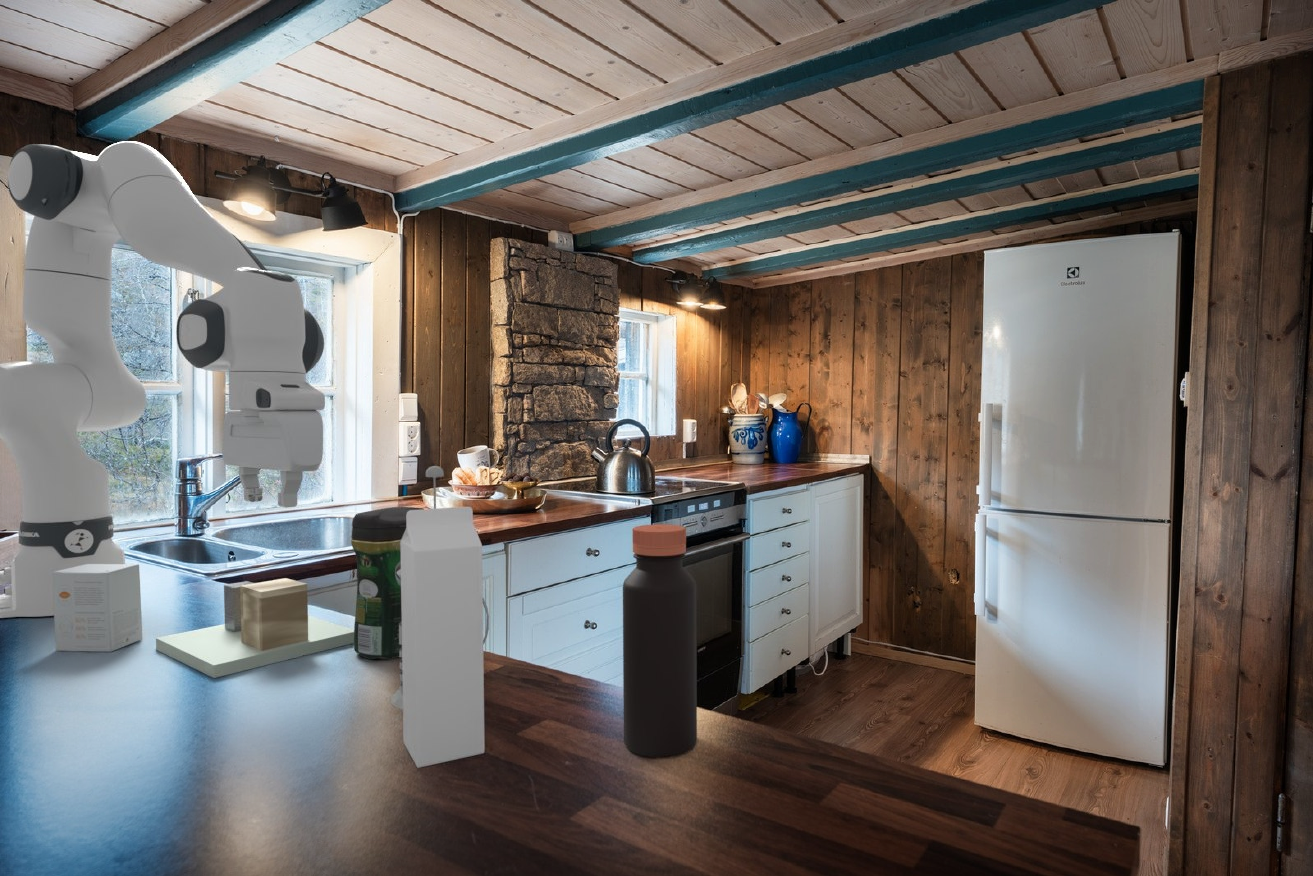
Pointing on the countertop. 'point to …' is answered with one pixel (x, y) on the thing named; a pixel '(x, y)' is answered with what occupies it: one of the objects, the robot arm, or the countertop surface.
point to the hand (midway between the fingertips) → (269, 504)
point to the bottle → (659, 646)
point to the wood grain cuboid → (274, 613)
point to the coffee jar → (378, 581)
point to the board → (246, 647)
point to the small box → (97, 607)
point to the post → (233, 606)
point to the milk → (442, 636)
